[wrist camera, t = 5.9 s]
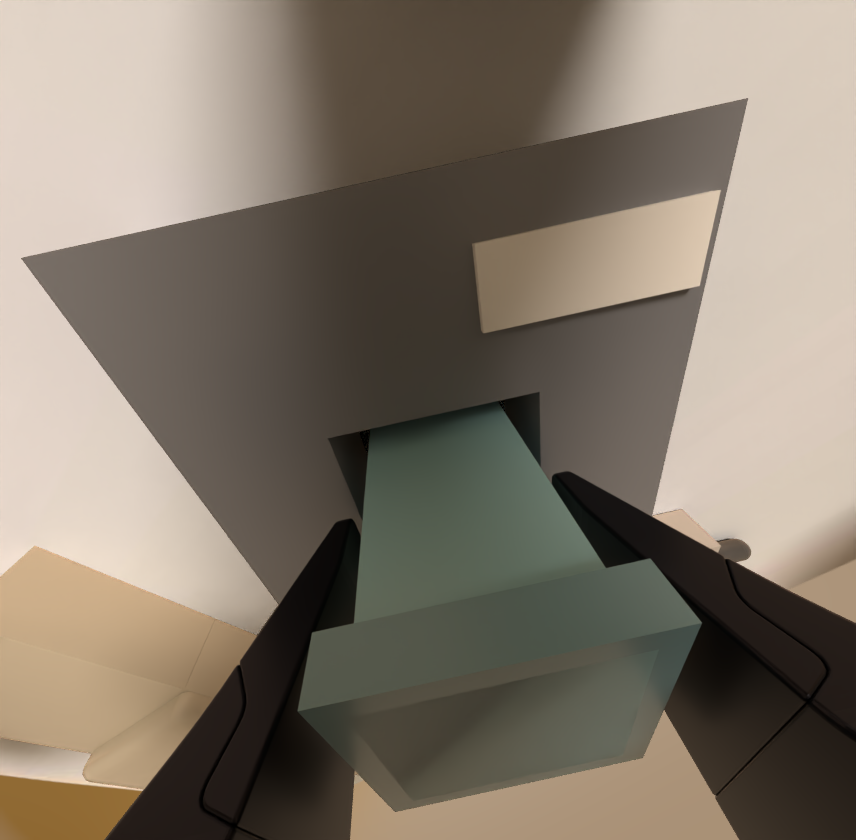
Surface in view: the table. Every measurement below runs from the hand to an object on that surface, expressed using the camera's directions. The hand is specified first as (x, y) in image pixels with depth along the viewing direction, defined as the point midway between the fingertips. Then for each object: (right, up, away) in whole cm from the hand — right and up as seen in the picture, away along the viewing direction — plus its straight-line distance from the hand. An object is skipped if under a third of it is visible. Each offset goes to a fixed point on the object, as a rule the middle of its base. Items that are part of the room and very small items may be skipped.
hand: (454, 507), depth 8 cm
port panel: (0, +2, +3) cm, 4 cm away
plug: (0, +2, +3) cm, 4 cm away
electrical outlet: (-12, -10, +9) cm, 18 cm away
